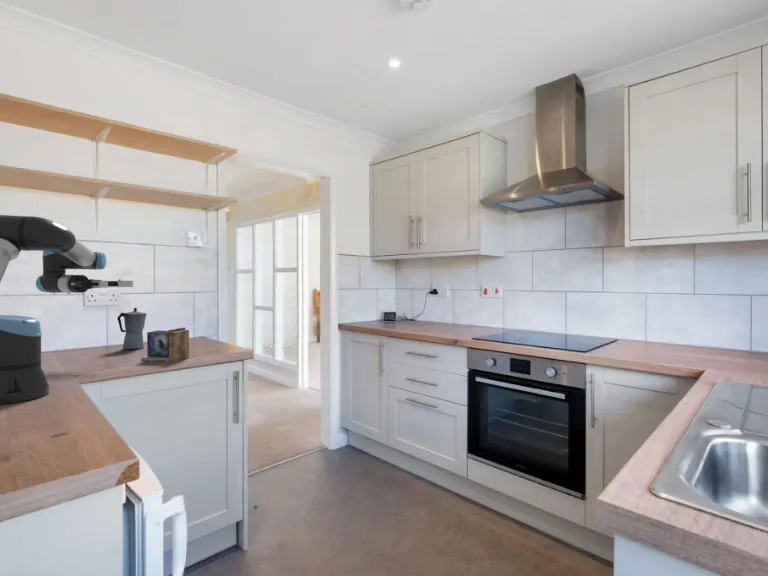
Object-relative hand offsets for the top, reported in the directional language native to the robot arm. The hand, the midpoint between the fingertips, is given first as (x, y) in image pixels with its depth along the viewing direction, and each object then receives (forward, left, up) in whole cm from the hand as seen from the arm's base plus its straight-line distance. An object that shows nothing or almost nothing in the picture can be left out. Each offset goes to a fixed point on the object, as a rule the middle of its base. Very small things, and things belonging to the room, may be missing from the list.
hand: (120, 284), depth 170 cm
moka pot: (+28, +17, -32) cm, 46 cm away
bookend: (+7, -15, -32) cm, 36 cm away
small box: (+7, -14, -31) cm, 35 cm away
